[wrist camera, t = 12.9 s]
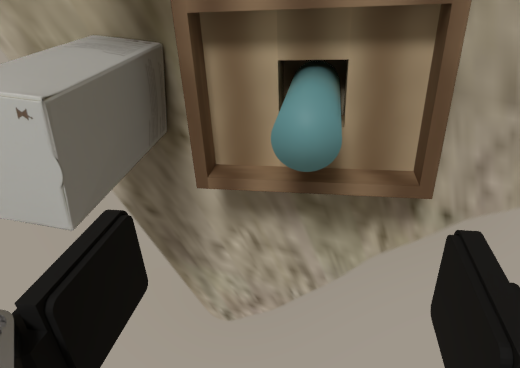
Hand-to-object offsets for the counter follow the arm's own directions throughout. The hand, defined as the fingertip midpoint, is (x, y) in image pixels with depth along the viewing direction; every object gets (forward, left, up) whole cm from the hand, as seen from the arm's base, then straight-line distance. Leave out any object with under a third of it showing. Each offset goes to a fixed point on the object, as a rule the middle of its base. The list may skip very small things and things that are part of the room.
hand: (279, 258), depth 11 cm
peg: (0, 0, -22) cm, 22 cm away
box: (0, 0, -22) cm, 22 cm away
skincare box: (+16, +1, -23) cm, 27 cm away
